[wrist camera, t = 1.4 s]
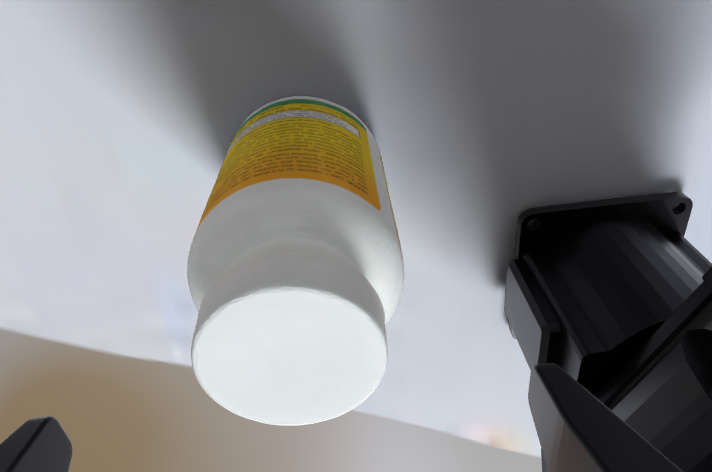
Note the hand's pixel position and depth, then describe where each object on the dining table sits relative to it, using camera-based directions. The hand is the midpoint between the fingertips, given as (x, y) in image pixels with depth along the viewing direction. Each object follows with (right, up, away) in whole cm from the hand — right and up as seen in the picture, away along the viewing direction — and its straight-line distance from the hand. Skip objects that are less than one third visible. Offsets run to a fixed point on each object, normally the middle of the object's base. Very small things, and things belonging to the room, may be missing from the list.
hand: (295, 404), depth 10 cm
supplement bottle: (-1, +6, +9) cm, 11 cm away
